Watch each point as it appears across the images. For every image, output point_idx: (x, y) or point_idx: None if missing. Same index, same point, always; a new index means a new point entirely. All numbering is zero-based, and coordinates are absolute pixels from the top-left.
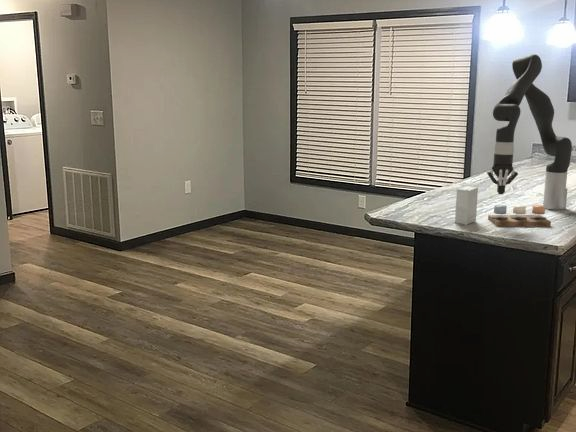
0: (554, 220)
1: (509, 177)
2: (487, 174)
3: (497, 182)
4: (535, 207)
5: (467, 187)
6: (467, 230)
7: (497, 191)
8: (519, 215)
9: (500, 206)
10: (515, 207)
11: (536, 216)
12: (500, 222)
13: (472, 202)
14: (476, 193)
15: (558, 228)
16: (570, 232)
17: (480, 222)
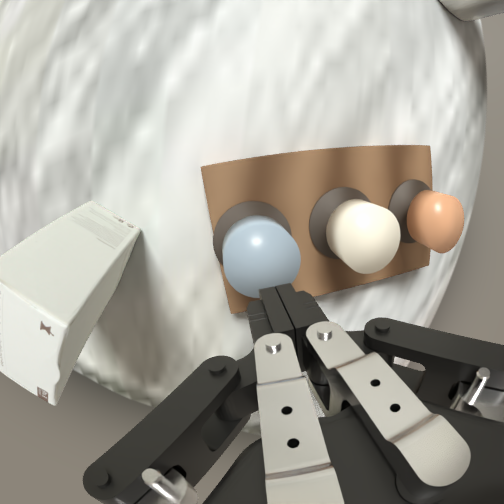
0: (451, 160)
1: (429, 365)
2: (103, 460)
3: (250, 414)
4: (429, 245)
5: (8, 331)
6: (130, 372)
7: (248, 318)
8: (358, 159)
9: (260, 277)
10: (345, 261)
11: (414, 191)
12: (246, 308)
13: (91, 326)
14: (81, 317)
15: (426, 282)
16: (430, 321)
17: (162, 242)
